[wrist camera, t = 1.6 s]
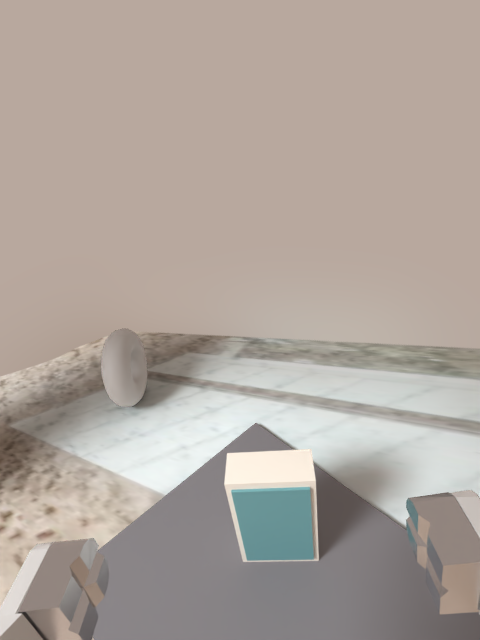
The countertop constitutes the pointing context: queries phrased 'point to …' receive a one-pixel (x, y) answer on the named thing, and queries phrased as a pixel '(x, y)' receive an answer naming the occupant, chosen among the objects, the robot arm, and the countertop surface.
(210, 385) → the countertop surface
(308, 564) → the mat
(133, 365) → the donut
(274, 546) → the card box
